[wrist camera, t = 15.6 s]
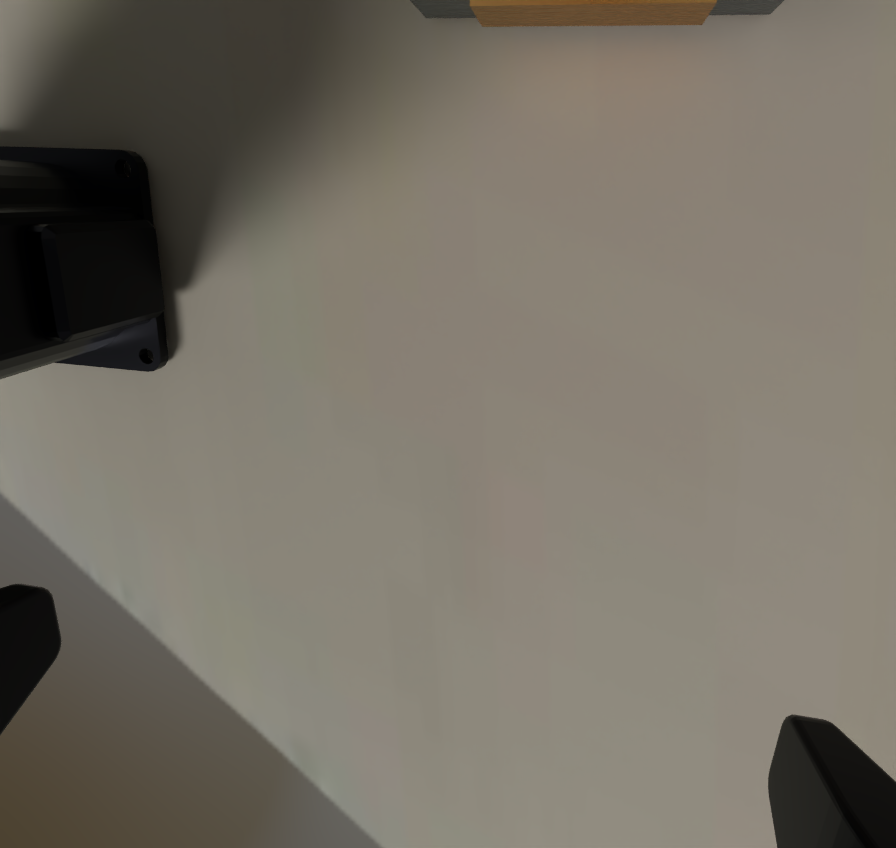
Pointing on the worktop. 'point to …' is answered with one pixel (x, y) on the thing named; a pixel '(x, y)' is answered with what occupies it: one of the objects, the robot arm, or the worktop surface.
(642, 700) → the worktop surface
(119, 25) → the worktop surface
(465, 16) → the unit
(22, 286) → the robot arm
